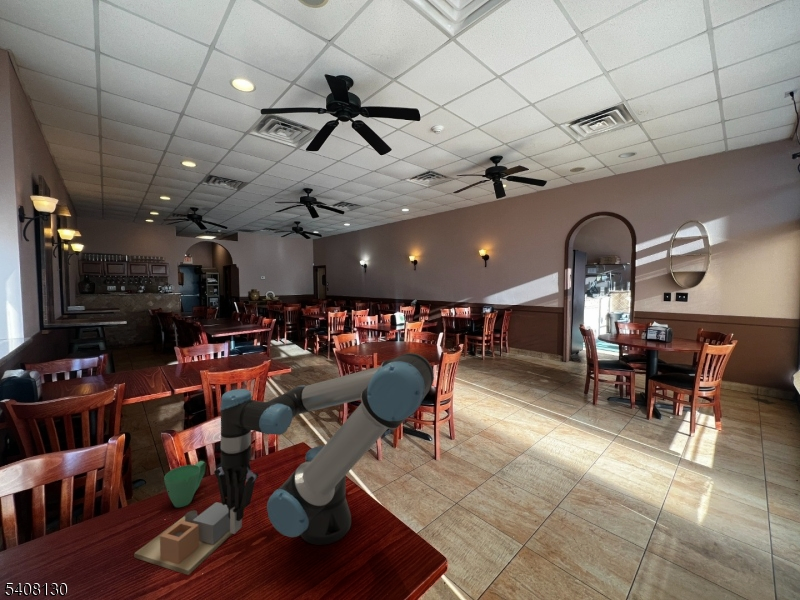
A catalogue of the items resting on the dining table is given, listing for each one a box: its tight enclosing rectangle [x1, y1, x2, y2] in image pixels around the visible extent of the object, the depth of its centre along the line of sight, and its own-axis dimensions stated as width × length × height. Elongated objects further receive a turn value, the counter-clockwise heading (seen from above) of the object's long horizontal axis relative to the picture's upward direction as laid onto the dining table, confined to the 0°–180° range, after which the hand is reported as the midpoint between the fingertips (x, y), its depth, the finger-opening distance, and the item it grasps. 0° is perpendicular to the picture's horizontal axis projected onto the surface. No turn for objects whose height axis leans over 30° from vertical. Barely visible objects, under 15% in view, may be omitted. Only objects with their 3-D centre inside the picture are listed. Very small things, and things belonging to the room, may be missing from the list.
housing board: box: [133, 509, 233, 576], centre depth 91 cm, size 18×16×6 cm
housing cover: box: [193, 501, 230, 544], centre depth 94 cm, size 7×8×5 cm
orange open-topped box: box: [160, 520, 199, 564], centre depth 87 cm, size 6×6×6 cm
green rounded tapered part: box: [163, 460, 207, 508], centre depth 110 cm, size 15×10×10 cm
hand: (236, 529), depth 92 cm, fingers closed
